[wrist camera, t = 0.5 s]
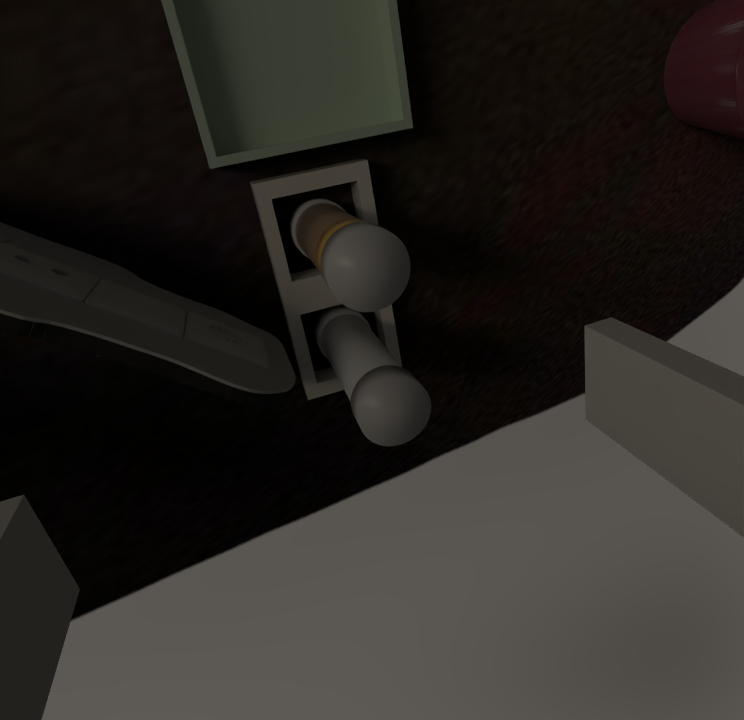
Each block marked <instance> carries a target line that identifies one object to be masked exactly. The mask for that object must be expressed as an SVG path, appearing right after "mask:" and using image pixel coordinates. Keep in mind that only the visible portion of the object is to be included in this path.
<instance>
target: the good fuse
mask: <svg viewBox="0 0 744 720" xmlns="http://www.w3.org/2000/svg"><path fill="white" fill-rule="evenodd" d="M314 336H315V340H316V342H317V344H318V346H319V348H320V350H321V352H322V353H323V355H324V356H325V357H326V358H327V359H328V360H329V362H330V364H331V365H332V367H333V369H334V371H335V373H336V375H337V377H338V379H339V381H340V383H341V385H342V386H343V388H344V390H345V392H346V394H347V396H348V398H349V400H350V402H351V409H352V412H353V414H354V416H355V418H356V420H357V422H358V424H359V426H360V428H361V430H362V432H363V433H364V435H365V436H366V437H367V438H368V439H369V440H370V441H372V442H374V443H376V444H378V445H382V446H397V445H401V444H403V443H406V442H408V441H410V440H412V439H413V438H414V437H416V436H417V435H418V434H419V433H420V432H421V431H422V430H423V428H424V427H425V425H426V424H427V422H428V420H429V417H430V413H431V401H430V398H429V395H428V393H427V391H426V390H425V389H424V388H423V386H422V385H421V384H420V383H419V382H418V380H417V379H416V378H415V377H414V376H413V375H412V374H411V373H410V372H409V371H408V370H406V369H404V368H402V366H401V365H400V364H399V363H398V362H397V360H396V359H395V358H394V357H393V356H392V354H391V353H390V352H389V351H388V350H387V348H386V347H385V346H384V345H383V344H382V342H381V341H380V340H379V339H378V338H377V336H376V335H375V334H374V333H373V332H372V330H371V327H370V325H369V323H368V322H367V320H366V319H365V318H364V317H363V316H362V314H361V313H360V312H359V311H355V310H352V309H350V308H348V307H346V306H345V305H336V306H332V307H330V308H328V309H326V310H325V311H324V312H322V313H321V315H320V316H319V317H318V319H317V321H316V323H315V327H314Z"/></svg>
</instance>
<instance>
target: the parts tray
mask: <svg viewBox="0 0 744 720" xmlns="http://www.w3.org/2000/svg"><path fill="white" fill-rule="evenodd" d="M161 1H162V4H163V8H164V11H165V15H166V18H167V21H168V25H169V28H170V32H171V35H172V39H173V42H174V46H175V49H176V53H177V56H178V60H179V63H180V66H181V70H182V73H183V77H184V80H185V84H186V87H187V91H188V94H189V98H190V101H191V105H192V108H193V112H194V115H195V118H196V122H197V125H198V129H199V132H200V136H201V139H202V143H203V146H204V150H205V153H206V157H207V160H208V163H209V167H210V169H212V168H217V167H222V166H227V165H232V164H237V163H242V162H247V161H251V160H256V159H261V158H266V157H271V156H276V155H281V154H286V153H291V152H296V151H301V150H306V149H311V148H316V147H320V146H325V145H330V144H335V143H340V142H345V141H350V140H355V139H360V138H365V137H370V136H375V135H380V134H385V133H389V132H394V131H399V130H404V129H409V128H413V123H412V115H411V107H410V100H409V92H408V84H407V76H406V69H405V61H404V53H403V45H402V38H401V30H400V22H399V14H398V7H397V0H161Z"/></svg>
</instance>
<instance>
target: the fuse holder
mask: <svg viewBox="0 0 744 720" xmlns="http://www.w3.org/2000/svg"><path fill="white" fill-rule="evenodd" d="M348 182H350V185H351V190H352V195H353V201H354V206H355V212H356V217H357V218H358V219H359V220H362V221H364V222H370V223H373V224H376V225H378V220H377V214H376V208H375V202H374V196H373V190H372V184H371V178H370V172H369V166H368V160H364V159H356V160H351V161H346V162H342V163H337V164H332V165H327V166H323V167H318V168H313V169H308V170H304V171H299V172H294V173H289V174H285V175H280V176H275V177H270V178H265V179H261V180H256V181H251V182H250V183H251V187H252V191H253V195H254V199H255V202H256V206H257V210H258V214H259V218H260V222H261V225H262V229H263V233H264V237H265V241H266V245H267V248H268V252H269V256H270V260H271V264H272V268H273V271H274V275H275V279H276V283H277V287H278V291H279V294H280V298H281V302H282V306H283V310H284V314H285V317H286V321H287V325H288V329H289V333H290V337H291V340H292V344H293V348H294V352H295V356H296V360H297V363H298V367H299V371H300V375H301V379H302V383H303V386H304V390H305V392H306V395H307V398H308V400H310V399H314V398H317V397H320V396H324V395H327V394H331V393H334V392H338V391H341V390H344V388H343V386H342V385H341V383H340V381H339V379H338V377H337V375H336V373H335V371H334V369H333V367H328V368H325V369H321V370H318V371H314V369H313V365H312V361H311V357H310V353H309V349H308V345H307V341H306V337H305V333H304V329H303V325H302V321H301V317H300V315H301V314H305V313H309V312H313V311H317V310H320V309H324V308H328V307H332V306H336V305H340V304H342V303H341V302H340V301H339V300H338V299H337V298H336V297H335V295H334V294H333V293H332V292H331V290H330V289H329V288H328V286H327V285H326V283H325V281H324V279H323V277H322V274H321V273H320V271H319V270H318V268H313V269H309V270H305V271H301V272H297V273H293V274H290V273H289V268H288V264H287V260H286V256H285V252H284V248H283V244H282V240H281V236H280V232H279V228H278V224H277V220H276V216H275V212H274V208H273V204H272V200H271V199H275V198H279V197H284V196H288V195H293V194H298V193H302V192H307V191H311V190H316V189H321V188H325V187H330V186H334V185H339V184H344V183H348ZM374 315H375V321H376V326H377V332H378V337H379V340H380V341H381V342H382V344H383V345H384V346H385V347H386V348H387V350H388V351H389V352H390V353H391V354H392V356H393V357H394V358H395V359H396V360H397V362H398V363H399V364H400V365H401V366H402V363H401V357H400V351H399V345H398V339H397V333H396V327H395V321H394V315H393V309H392V304H391V305H389V306H388V307H386V308H384V309H381V310H378V311H374Z"/></svg>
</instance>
